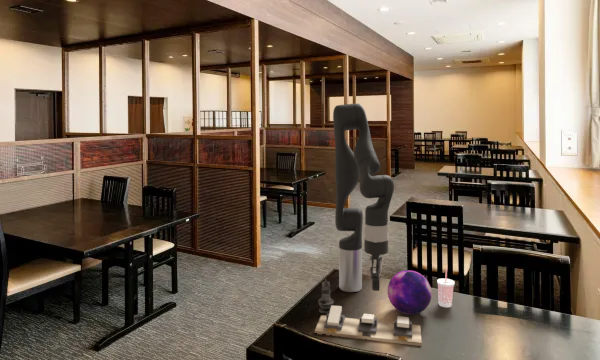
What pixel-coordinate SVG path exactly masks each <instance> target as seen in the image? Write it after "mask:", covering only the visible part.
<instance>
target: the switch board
mask: <svg viewBox="0 0 600 360" xmlns="http://www.w3.org/2000/svg"><path fill="white" fill-rule="evenodd" d="M328 317H329V313H327V314H325V315H324V314H323V315H322V314H321V315H320V317H319V319H318V322H317V323H316V326H315V329H314V334H315V333H317V334H316V335H322V334H326V335H325V336H330V335H332V336H331V337H339V336H340V338H349V339H350V338H351V339H358V340H359V339H360V340H365V339H367V340H366V341H375V342H383V343H391V344H401V345H408V346H409V345H410V346H416V347H417V346H419V347H422V345H423V344H422V343H423V342H422V331H421V325H420V324H413V321H409V328H405V327H397V319H394V321H393V322H392V321H391V322H390V321H381V320H379V319H378V318H376V317H375V319H374V322H373V323H365V322H362V316H360V317H359V318H352V317H346V315H345V314H341V316H340V321H339V326H334V325H327V321H328Z"/></svg>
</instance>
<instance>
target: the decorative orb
mask: <svg viewBox="0 0 600 360" xmlns="http://www.w3.org/2000/svg"><path fill="white" fill-rule="evenodd" d="M432 293H433V292H432V287H431V285H430V283H429V281H428V279H427V278H426V277H425V276H424V275H422V274H421V273H420V272H418V271H415V270H402V271H399V272H396V273H395V274H394V275H393V276H392V277H391V278H390V280H389V282H388V286H387V297H388V299H389V302H390V304H391V305H392V306H393V308H395V309H396V310H397V311H398V312H400V313H402V314H405V315H417V314H420V313H422V312H423V311H425V310H426V309H427V308H428V307H429V305H430V303H431V299H432V295H433V294H432Z"/></svg>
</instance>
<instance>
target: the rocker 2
mask: <svg viewBox="0 0 600 360" xmlns="http://www.w3.org/2000/svg"><path fill="white" fill-rule="evenodd" d="M375 316H376V315H375V314H370V313H363V315H361V317H362V322H365V323H373V322H374V319H375V318H376V317H375Z"/></svg>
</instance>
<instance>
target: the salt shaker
mask: <svg viewBox="0 0 600 360" xmlns="http://www.w3.org/2000/svg"><path fill="white" fill-rule="evenodd" d="M330 288H331V284H330V281H328V280H327V278H325V279H324V280H323V281H322V282H321V290H320V292H321V297H320V298H319V299H318V300H317V302H318V305H319V308H318V311H319V313H321V314H323V313H324V314H325V315H327V313H330V309H331V305H334V303H335V300H334V299H333V298H331V291H332V290H331V289H330ZM324 314H323V315H324Z"/></svg>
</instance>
